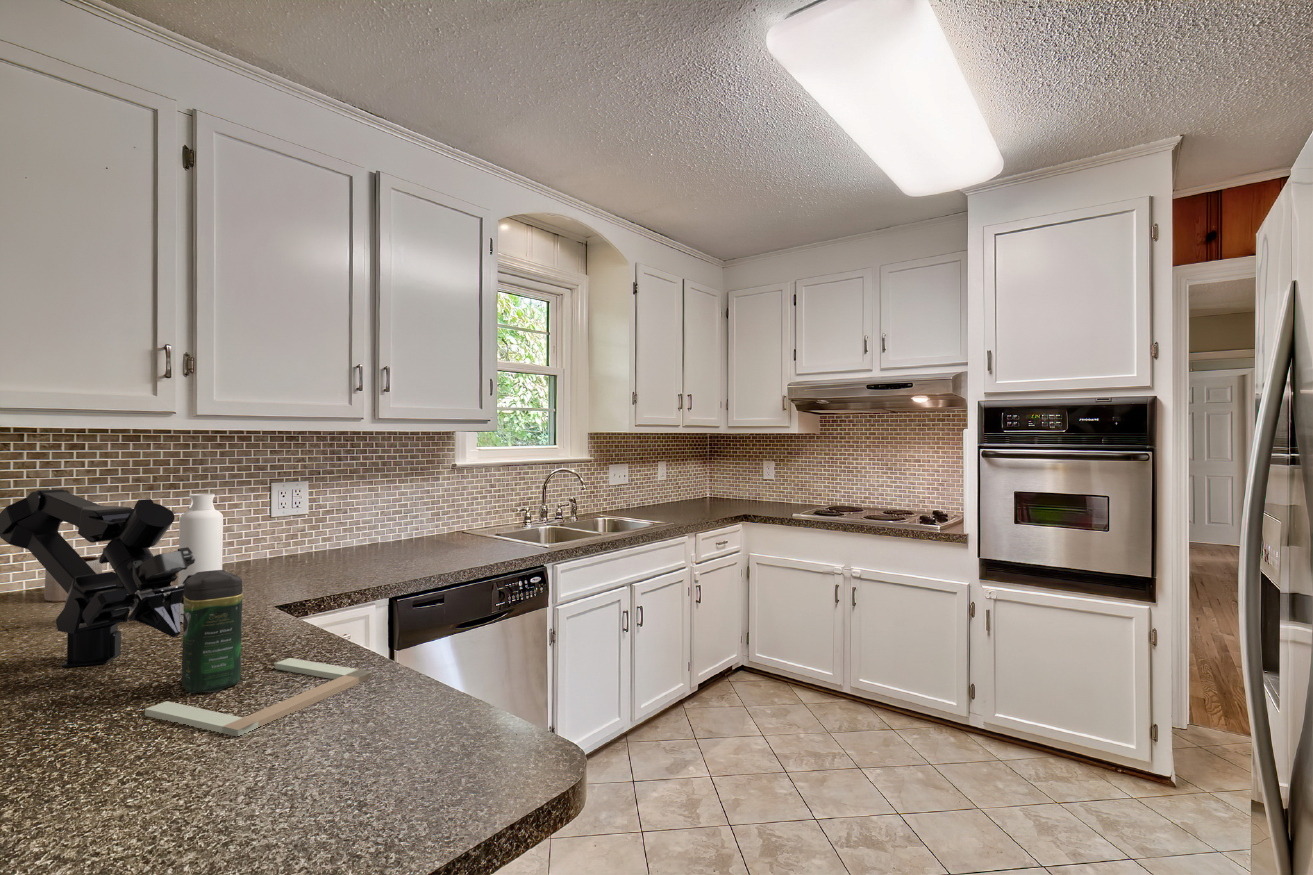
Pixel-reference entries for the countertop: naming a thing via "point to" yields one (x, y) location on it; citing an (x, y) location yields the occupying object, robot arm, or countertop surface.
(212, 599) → the coffee jar
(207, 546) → the bottle
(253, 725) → the frame
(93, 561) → the planter
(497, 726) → the countertop surface
